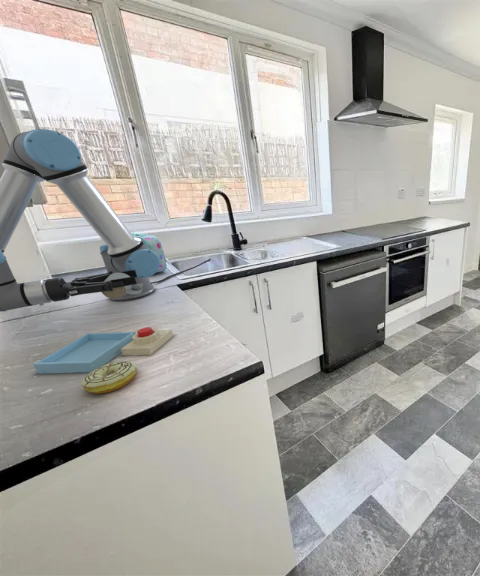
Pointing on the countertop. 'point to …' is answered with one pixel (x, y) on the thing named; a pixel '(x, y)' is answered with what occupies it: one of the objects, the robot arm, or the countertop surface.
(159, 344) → the control block
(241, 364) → the countertop surface
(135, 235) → the lunch box
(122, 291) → the ceramic mug
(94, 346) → the shallow blue tray
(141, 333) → the button
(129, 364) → the decorated donut
